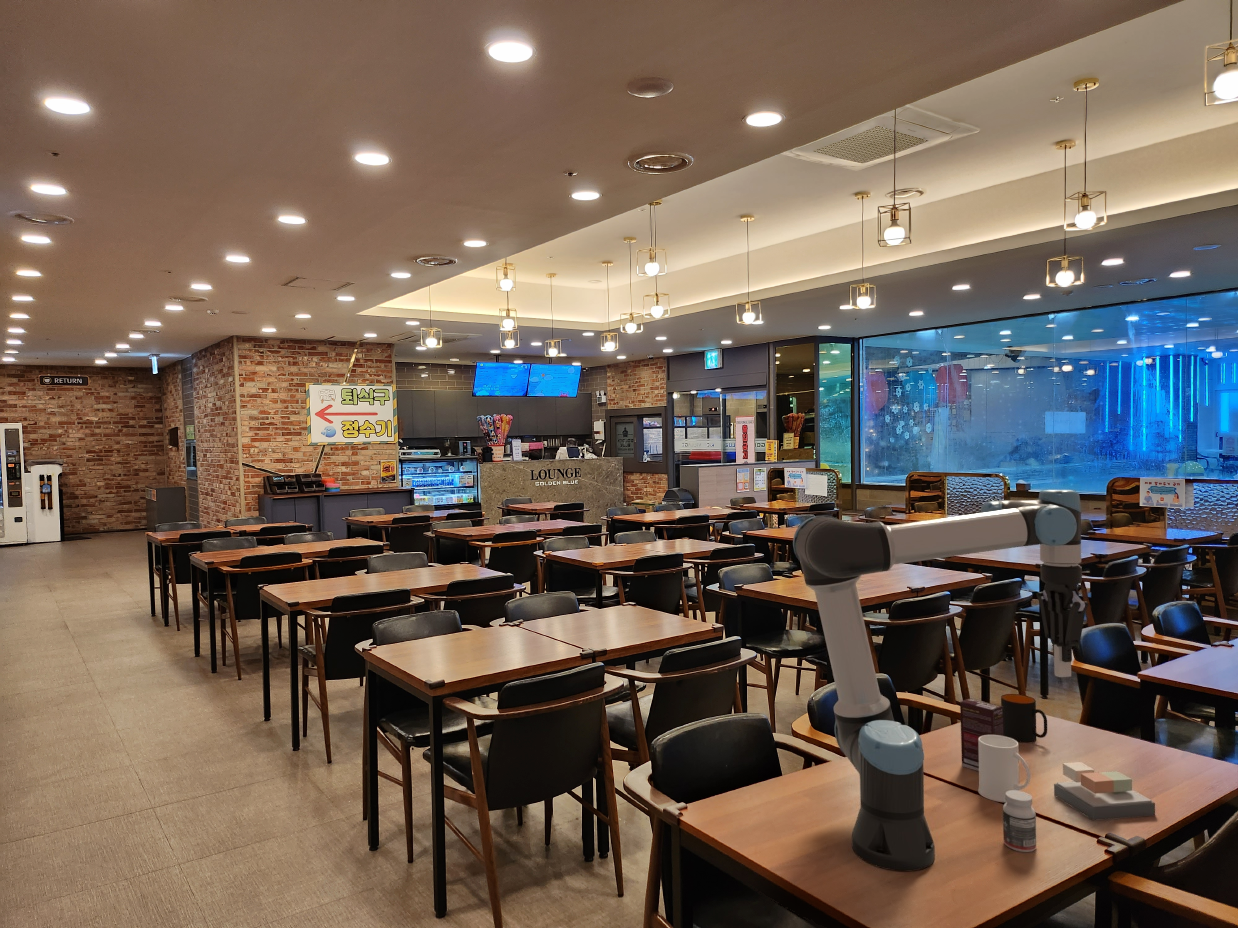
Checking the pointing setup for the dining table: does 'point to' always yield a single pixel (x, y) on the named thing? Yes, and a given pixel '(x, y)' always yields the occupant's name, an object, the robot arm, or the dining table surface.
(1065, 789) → the keypad
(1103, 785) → the terracotta key
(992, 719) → the supplement box
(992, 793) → the mug
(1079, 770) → the cream key
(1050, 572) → the robot arm
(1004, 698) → the mug
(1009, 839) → the pill bottle
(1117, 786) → the sage key
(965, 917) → the dining table surface
